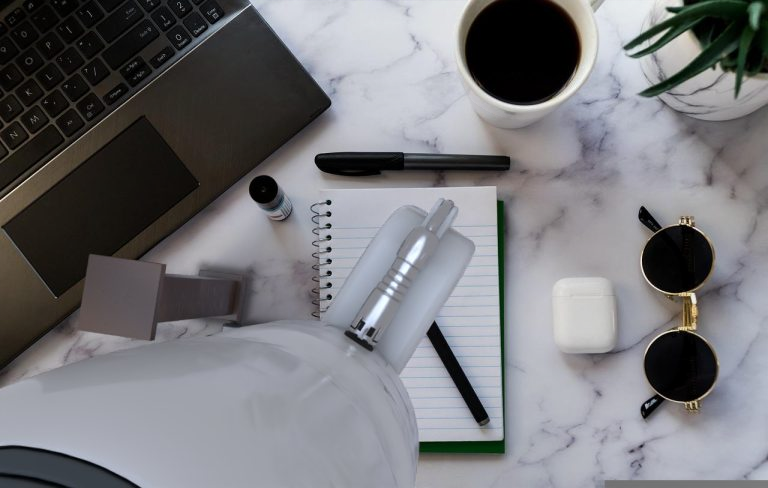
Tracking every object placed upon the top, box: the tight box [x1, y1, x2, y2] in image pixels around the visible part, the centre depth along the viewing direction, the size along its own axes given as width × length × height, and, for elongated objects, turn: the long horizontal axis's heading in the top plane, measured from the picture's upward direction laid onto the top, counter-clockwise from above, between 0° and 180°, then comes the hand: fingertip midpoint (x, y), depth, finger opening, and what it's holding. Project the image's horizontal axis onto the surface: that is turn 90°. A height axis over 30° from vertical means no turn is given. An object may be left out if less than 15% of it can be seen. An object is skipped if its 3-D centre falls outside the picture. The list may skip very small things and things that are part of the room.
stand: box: [76, 253, 249, 342], centre depth 57 cm, size 6×6×22 cm
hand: (346, 389), depth 35 cm, fingers open, 8 cm apart
